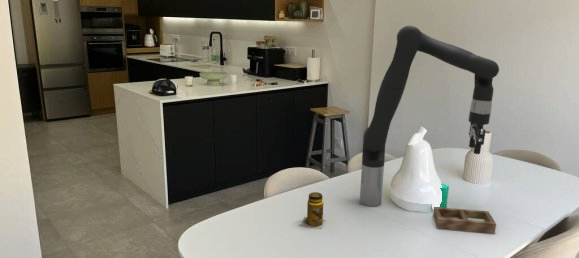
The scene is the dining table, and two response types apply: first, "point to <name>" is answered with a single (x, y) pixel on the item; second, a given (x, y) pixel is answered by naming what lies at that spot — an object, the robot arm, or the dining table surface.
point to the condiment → (314, 211)
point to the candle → (444, 195)
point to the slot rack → (464, 220)
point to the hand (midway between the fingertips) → (474, 150)
